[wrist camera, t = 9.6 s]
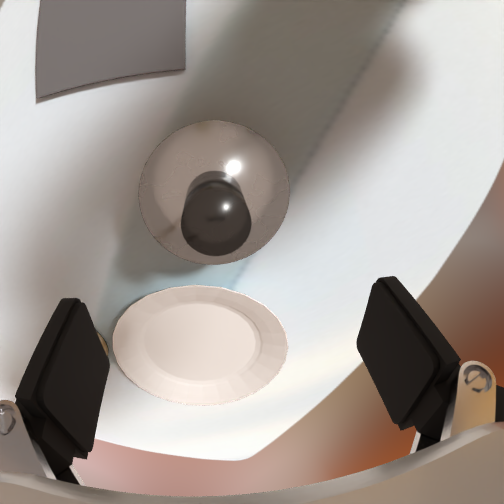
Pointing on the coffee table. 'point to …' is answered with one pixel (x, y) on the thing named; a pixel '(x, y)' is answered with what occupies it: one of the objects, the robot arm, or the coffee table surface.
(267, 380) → the plate
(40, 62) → the mat
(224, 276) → the coffee table surface
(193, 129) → the lid
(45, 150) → the coffee table surface
